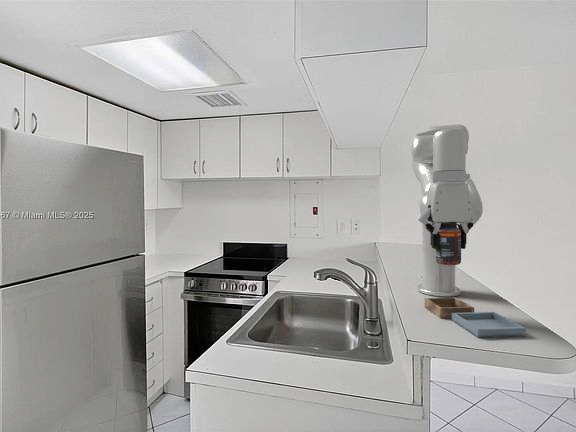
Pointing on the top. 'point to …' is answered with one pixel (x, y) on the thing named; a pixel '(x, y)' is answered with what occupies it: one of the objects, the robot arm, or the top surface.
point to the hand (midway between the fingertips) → (448, 247)
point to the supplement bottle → (449, 244)
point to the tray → (488, 325)
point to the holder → (447, 306)
